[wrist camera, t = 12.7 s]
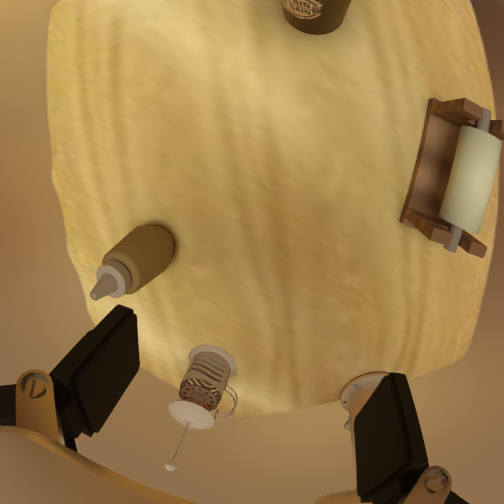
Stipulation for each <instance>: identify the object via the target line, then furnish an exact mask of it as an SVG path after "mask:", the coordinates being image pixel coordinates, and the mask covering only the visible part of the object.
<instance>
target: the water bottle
mask: <svg viewBox="0 0 504 504" xmlns="http://www.w3.org/2000/svg"><path fill="white" fill-rule="evenodd" d="M350 2H351V0H281V3H282V7H283V11H284V14H285V17H286V19H287V21H288V22H289V23H290V24H291V25H292V26H293V27H294V28H296V29H298V30H299V31H302V32H304V33H308V34H314V35H320V34H326V33H330V32H332V31H334V30H335V29H337V28H338V27H339V26H340V25H341V23H342V21H343V19H344V16H345V14H346V11H347V9H348V7H349V4H350Z"/></svg>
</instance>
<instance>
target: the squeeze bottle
mask: <svg viewBox="0 0 504 504" xmlns="http://www.w3.org/2000/svg"><path fill="white" fill-rule="evenodd" d="M173 249H174V242H173V238H172V236H171V235H170V233H169V232H168V231H167V230H166V229H164V228H163V227H160V226H152V225H145V226H138V227H136V228H135V229H134V230H132V231H131V232H130V233H129V234H128V235H127V236H125V237H124V238H123V239H122V240H121V241H120V242H119V243H118V244H116V245H115V246H114V247H113V248H112V249H111V250H110V251H109V252H108V253H107V254H105V256H104V258H103V261H102V266H101V267H99V268H98V271H97V281H98V282H97V284H96V285H95V286H94V288H93V289H92V291H91V293H90V296H91V298H92V299H93V300H98V299H100V298H102V297H104V296H106V295H109V296H111V297H113V298H119V297H121V296H122V295H124V294H133V293H135V292H136V291H138V290H139V289H141V288H142V287H143V286H145V285H146V284H147V283H149V282H150V281H151V280H153V279H154V278H155V277H157V276H158V275H159V274H161V273H162V272H164V271H165V270H166V269H167V267H168V266H169V264H170V263H171V258H172V254H173Z"/></svg>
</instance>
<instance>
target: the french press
mask: <svg viewBox="0 0 504 504" xmlns="http://www.w3.org/2000/svg"><path fill="white" fill-rule="evenodd" d="M189 360H190V366H189V368H188V370H187V372H186V374H185V376H184V378H183V380H182V382H181V384H180V390H179V396H180V398H181V399H182V400H176V401H174V402H172V403H170V405H169V407H168V409H169V412H170V414H171V415H172V416H173V418H174V419H175V420H176V421H177V422H179V423H180V424H182V425H184V426H185V427H186V428H185V430H184V433H183V435H182V438H181V440H180V443H179V445H178V448H177V450H176V452H175V455H176V453H177V451H178V449H179V446H180V444H181V441H182V439H183V436H184V434H185V431H186V429H187V427H189V428H192V429H208V428H211V427H212V426H213V425H214V418H215V420H224V419H227V418H229V417H230V416H231V415H232V414H233V413H234V410H235V407H236V405H237V394H236V392H235V391H234V390H233V388H231V387H230V386H229V385H228V384H227V382H228V379H229V378H230V377H232V376H233V375H234V373H235V372H236V363H235V361H234V359H233V357H232V356H231V355H230V354H229V353H228V352H226V351H225V350H223V349H221V348H219V347H217V346H212V345H200V346H197V347H195V348H194V349H192V350H191V352H190V354H189ZM192 378H195V379H196V380H197V382H198V383H199V384H200V385H201V386H198V384H197V383H196V382H195V381H194V380H193V379H192ZM188 379H190V380H191V381H192V382H193V384H194V385H192V384H191V383H190V382H189V381H188ZM199 379H201V380H202V381H203V382H204V383H205V384H207V385H210V386H215V387H213V388H209V387H207V386H205V385H204V384H203V383H202V382H201V381H200V380H199ZM186 383H187V384H188V385H186ZM226 386H228V387H229V388H231V389H232V390H233V392H234V393H235V396H236V403H235V399H234V397H233V396H232V394H231V393H229V392H228V391H227V390H226ZM216 389H218V390H217V391H215V392H211V391H209V390H216ZM224 390H225V391H226V392H227V393H229V394H230V395H231V396H232V398H233V400H234V408H233V409H232V410H231V411H230V412H228V413H225V414H217V413H218V409H217V410H216V414H215V417H213V416H212V415H211V413H210V412H209V411H210V410H213V409H215V408H216V407H217V405H218V403H219V402H220V400H221V397H222V394H223V391H224ZM215 393H218V394H217V395H214V394H215ZM231 412H232V413H231ZM229 413H231V414H230V415H229V416H228V417H226V418H223V419H216V416H217V415H218V416H222V415H227V414H229ZM175 455H174V457H173V460H174V458H175ZM173 460H172V462H170V461H166V462H165V464H164V466H165V467H166V469H167V470H170V471H172V470H175V469H176V468H177V465H176V464H175V463H173Z"/></svg>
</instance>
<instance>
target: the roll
mask: <svg viewBox="0 0 504 504" xmlns="http://www.w3.org/2000/svg"><path fill="white" fill-rule="evenodd" d="M490 119H491V111H489V110H488V109H485V108H484V112H483V119H482V120H477V125H476V128H473V127H469V126H461V128H460V133H459V138H458V143H457V148H456V153H455V157H454V162H453V166H452V170H451V174H450V178H449V181H448V185H447V189H446V192H445V196H444V199H443V203H442V206H441V209H440V212H439V217H441V218H442V219H444V220H446V221H447V222H449V223H451V224H452V225H451V228H450V231H449V232H451V233H452V234H453V237H452V240H451V242H450V245H449V246H446V245H444V248H445V249H447V250H449V251H451V252H454V253H455V252H456V249H457V246H458V244H459V241H460V238H461V235H462V233H463V230H466V231H469V232H472V233H475V234H478V232H479V230H480V227H481V224H482V221H483V218H484V214H485V211H486V208H487V205H488V201H489V198H490V194H491V190H492V186H493V183H494V179H495V174H496V170H497V166H498V161H499V156H500V150H501V145H502V143H501V141H500V140H499V139H498V138H496V137H495V136H493V135H491V134H489V133H488V132H489V126H490Z"/></svg>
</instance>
